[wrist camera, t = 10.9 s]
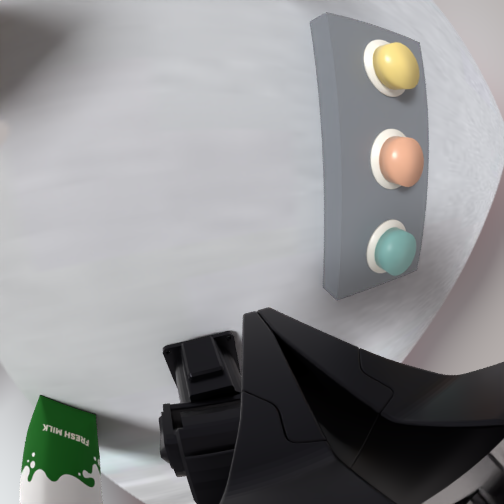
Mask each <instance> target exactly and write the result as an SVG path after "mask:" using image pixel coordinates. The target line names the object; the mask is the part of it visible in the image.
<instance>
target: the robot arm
mask: <svg viewBox="0 0 504 504" xmlns="http://www.w3.org/2000/svg"><path fill="white" fill-rule="evenodd" d="M228 336H230V337H228ZM226 337H228V338H226ZM167 351H170V352H167ZM163 355H164V357H165V360H166V362H167V365H168V367H169V369H170V372H171V374H172V377H173V379H174V381H175V384H176V386H177V388H178V392H179V398H180V403H179V404H170V403H169V404H163V411H164V412H161V413H162V416H161V417H160V418H159V425H160V433H161V440H160V454H161V458H162V459H164V460H165V461H167V462H168V463H170V466H171V468H172V469H174V471H175V474H176V476H177V477H182V476H187V479H188V483H189V486H190V489H191V492H192V495H193V498H194V501H195V502H196V503H197V504H504V362H502V363H499V364H496V365H493V366H490V367H487V368H483V369H480V370H476V371H473V372H469V373H466V374H461V375H443V374H438V373H435V372H431V371H427V370H423V369H420V368H416V367H412V366H409V365H405V364H402V363H399V362H396V361H393V360H390V359H386V358H384V357H381V356H379V355H376V354H373V353H371V352H368V351H366V350H364V349H361V348H360V349H359V348H358V347H356V346H354V345H352V344H349V343H347V342H345V341H342V340H340V339H338V338H336V337H333V336H331V335H329V334H327V333H324V332H322V331H320V330H318V329H315V328H313V327H311V326H309V325H306V324H304V323H302V322H300V321H298V320H296V319H293V318H291V317H289V316H287V315H285V314H283V313H280V312H278V311H276V310H274V309H272V308H269V307H268V308H264V309H261V310H258V311H257V312H255V311H253V312H249V313H246V314H244V315H243V334H242V377H241V374H240V369H239V363H238V358H237V352H236V346H235V341H234V336H233V334H232V332H229V331H227V332H223V333H219V334H215V335H211V336H207V337H203V338H199V339H194V340H190V341H186V342H181V343H177V344H172V345H168V346H165V347H164V348H163Z"/></svg>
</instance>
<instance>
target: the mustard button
mask: <svg viewBox="0 0 504 504" xmlns="http://www.w3.org/2000/svg"><path fill="white" fill-rule="evenodd" d="M373 67H374V70H375V72H376V75H377V76H378V78H379V80H380V81H381V82H382V83H383V84H384V85H385V86H386V87H388V88H390V89H392V90H400V89H412V88H414V87H416V85H417V84H418V81H419V76H420V73H419V66H418V63H417V60H416V58H415V56H414V55H413V53H412V52H411V51H410V49H409V48H408V47H406V46H405V45H403V44H401V43H398V42H395V43H390V44H386V45H382V46H379V47H377V48H376V49H375V51H374V53H373Z"/></svg>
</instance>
